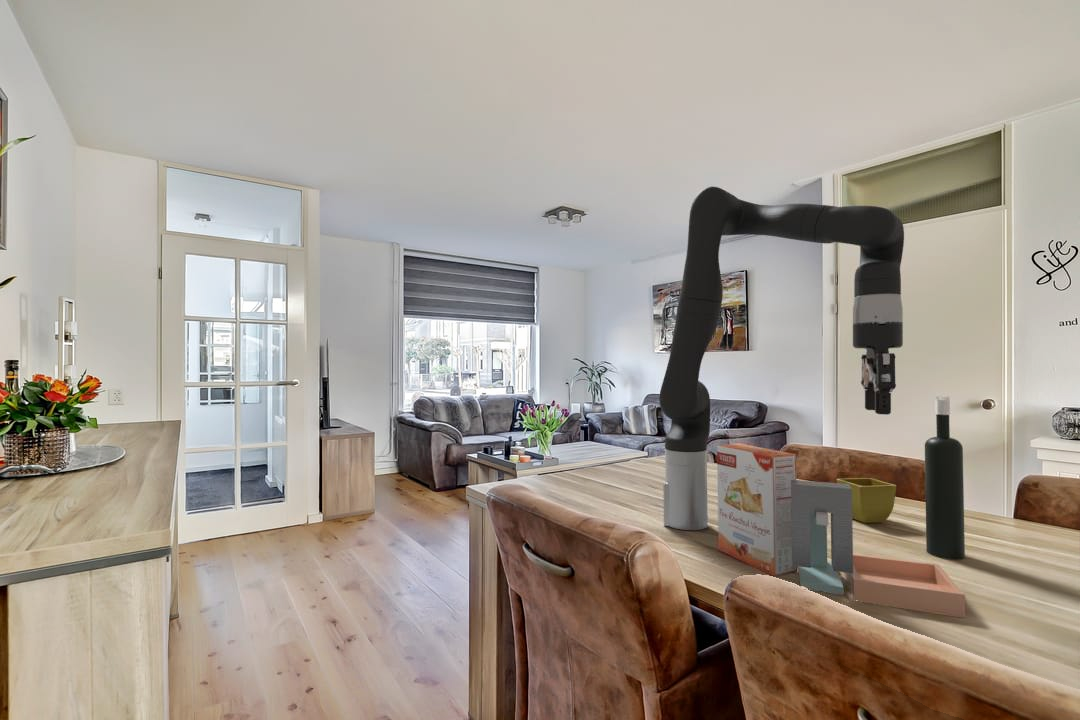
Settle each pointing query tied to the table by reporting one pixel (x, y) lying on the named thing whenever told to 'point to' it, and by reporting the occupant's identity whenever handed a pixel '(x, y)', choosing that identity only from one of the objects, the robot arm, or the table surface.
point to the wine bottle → (944, 489)
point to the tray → (905, 585)
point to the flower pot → (871, 499)
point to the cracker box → (756, 506)
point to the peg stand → (820, 559)
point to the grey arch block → (840, 506)
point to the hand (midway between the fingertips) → (877, 412)
